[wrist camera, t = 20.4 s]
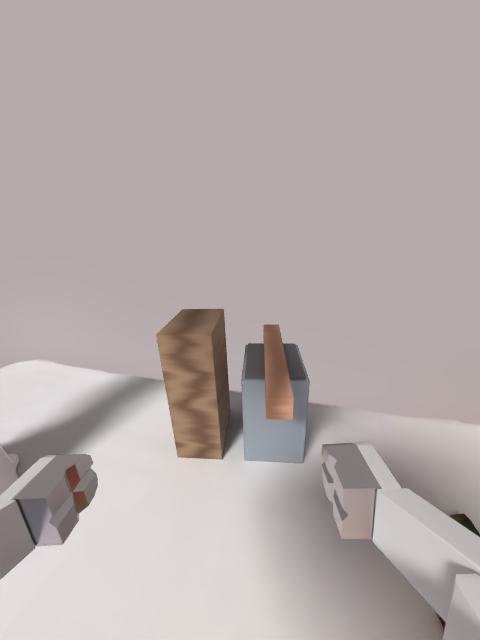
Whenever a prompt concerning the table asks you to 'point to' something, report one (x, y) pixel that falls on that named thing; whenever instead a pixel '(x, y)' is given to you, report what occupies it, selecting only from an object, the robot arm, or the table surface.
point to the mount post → (196, 381)
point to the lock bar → (276, 376)
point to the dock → (260, 433)
